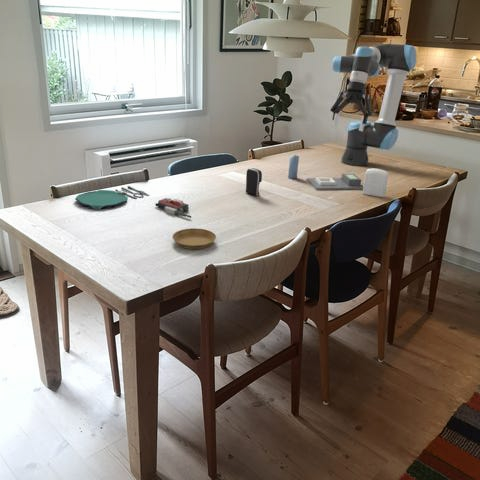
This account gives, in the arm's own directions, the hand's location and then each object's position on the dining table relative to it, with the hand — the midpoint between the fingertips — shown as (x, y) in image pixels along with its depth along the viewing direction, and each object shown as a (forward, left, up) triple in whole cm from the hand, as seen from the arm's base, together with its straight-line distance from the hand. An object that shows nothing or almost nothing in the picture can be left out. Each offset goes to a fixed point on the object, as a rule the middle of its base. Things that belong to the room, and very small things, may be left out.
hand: (347, 129), depth 229 cm
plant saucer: (+76, +63, -28) cm, 103 cm away
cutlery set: (+106, +17, -28) cm, 111 cm away
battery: (+45, +11, -27) cm, 54 cm away
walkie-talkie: (+80, +32, -28) cm, 91 cm away
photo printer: (-11, +14, -27) cm, 33 cm away
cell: (+20, -14, -27) cm, 36 cm away
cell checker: (+2, -2, -27) cm, 27 cm away
